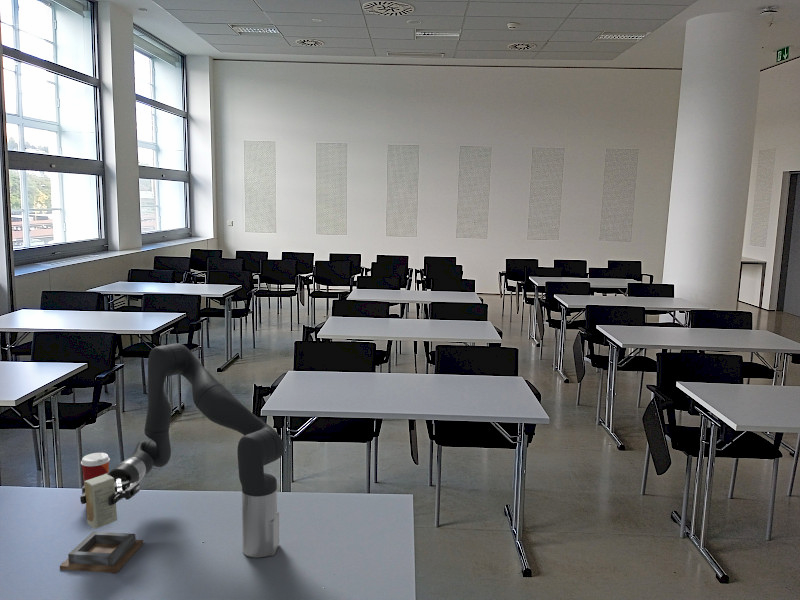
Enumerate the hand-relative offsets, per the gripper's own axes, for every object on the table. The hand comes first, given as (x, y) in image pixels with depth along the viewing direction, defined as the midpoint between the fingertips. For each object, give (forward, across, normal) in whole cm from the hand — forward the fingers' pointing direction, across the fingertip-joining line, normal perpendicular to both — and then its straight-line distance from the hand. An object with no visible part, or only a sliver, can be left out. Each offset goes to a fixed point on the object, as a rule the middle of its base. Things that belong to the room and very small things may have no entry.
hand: (96, 501), depth 172 cm
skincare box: (-2, 0, +7) cm, 8 cm away
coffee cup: (-32, -18, +17) cm, 40 cm away
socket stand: (-2, 0, +16) cm, 16 cm away
